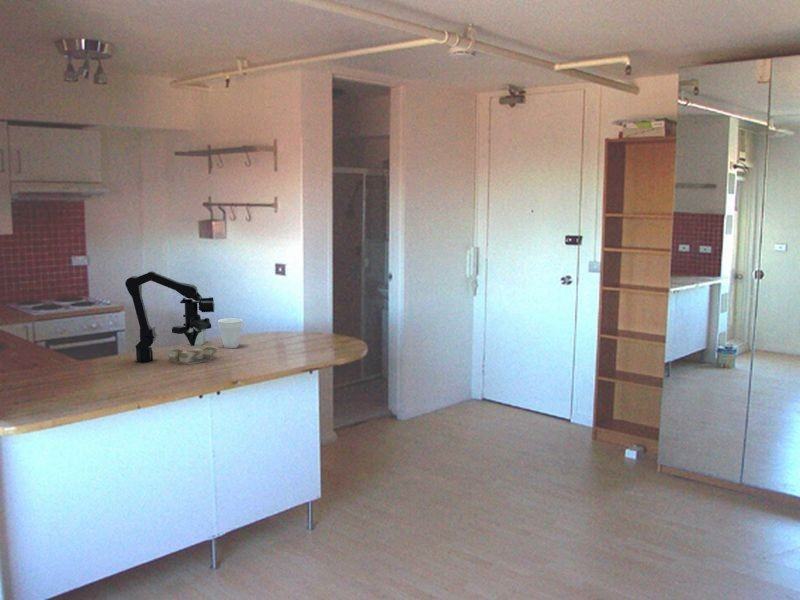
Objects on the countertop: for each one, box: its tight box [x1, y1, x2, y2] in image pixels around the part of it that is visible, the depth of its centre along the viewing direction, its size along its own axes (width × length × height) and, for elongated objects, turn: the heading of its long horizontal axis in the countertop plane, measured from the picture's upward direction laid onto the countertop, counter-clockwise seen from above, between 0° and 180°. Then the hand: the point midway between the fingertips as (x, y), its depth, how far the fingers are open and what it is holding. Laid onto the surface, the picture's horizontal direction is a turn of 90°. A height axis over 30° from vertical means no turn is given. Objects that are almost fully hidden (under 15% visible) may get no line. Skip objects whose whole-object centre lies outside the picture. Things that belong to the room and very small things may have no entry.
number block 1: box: [168, 348, 184, 363], centre depth 336 cm, size 4×4×5 cm
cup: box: [217, 317, 244, 349], centre depth 367 cm, size 12×12×14 cm
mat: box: [172, 358, 217, 366], centre depth 338 cm, size 17×14×1 cm
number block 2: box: [202, 346, 219, 361], centre depth 340 cm, size 4×4×5 cm
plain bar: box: [179, 347, 204, 362], centre depth 337 cm, size 12×4×4 cm, turn 147°
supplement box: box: [188, 329, 207, 346], centre depth 375 cm, size 7×7×13 cm
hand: (192, 345), depth 337 cm, fingers closed
